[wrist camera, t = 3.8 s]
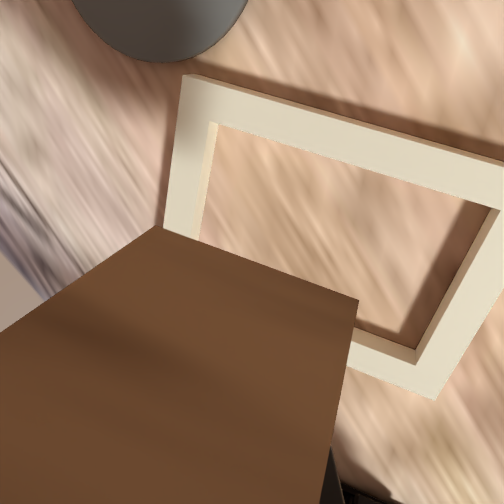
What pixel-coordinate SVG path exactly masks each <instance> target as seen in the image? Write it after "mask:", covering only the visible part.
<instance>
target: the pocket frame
mask: <svg viewBox="0 0 504 504" xmlns="http://www.w3.org/2000/svg"><path fill="white" fill-rule="evenodd" d="M219 124H221V125H224V126H227V127H230V128H234V129H237V130H240V131H243V132H247V133H250V134H253V135H256V136H260V137H263V138H266V139H270V140H273V141H276V142H279V143H283V144H286V145H289V146H292V147H296V148H299V149H302V150H305V151H309V152H312V153H315V154H318V155H322V156H325V157H328V158H332V159H335V160H338V161H341V162H345V163H348V164H351V165H354V166H358V167H361V168H364V169H367V170H371V171H374V172H377V173H380V174H384V175H387V176H390V177H394V178H397V179H400V180H403V181H407V182H410V183H413V184H416V185H420V186H423V187H426V188H429V189H433V190H436V191H439V192H442V193H446V194H449V195H452V196H456V197H459V198H462V199H465V200H469V201H472V202H475V203H478V204H482V205H485V206H488V207H491V210H490V212H489V213H488V215H487V217H486V219H485V221H484V223H483V225H482V226H481V228H480V230H479V232H478V234H477V236H476V238H475V240H474V241H473V243H472V245H471V247H470V249H469V251H468V253H467V255H466V256H465V258H464V260H463V262H462V264H461V266H460V268H459V270H458V271H457V273H456V275H455V277H454V279H453V281H452V283H451V284H450V286H449V288H448V290H447V292H446V294H445V296H444V298H443V299H442V301H441V303H440V305H439V307H438V309H437V311H436V313H435V314H434V316H433V318H432V320H431V322H430V324H429V326H428V327H427V329H426V331H425V333H424V335H423V337H422V339H421V341H420V342H419V344H418V346H417V348H416V350H413V349H411V348H408V347H405V346H403V345H400V344H397V343H395V342H392V341H390V340H387V339H384V338H382V337H379V336H376V335H374V334H371V333H368V332H366V331H363V330H361V329H358V328H355V327H354V329H353V334H352V339H351V344H350V349H349V354H348V359H347V364H346V366H348V367H351V368H353V369H356V370H358V371H361V372H363V373H366V374H368V375H371V376H373V377H376V378H378V379H381V380H383V381H386V382H388V383H391V384H393V385H396V386H398V387H401V388H403V389H406V390H408V391H411V392H413V393H416V394H418V395H421V396H423V397H426V398H428V399H431V400H433V401H435V400H436V398H437V396H438V395H439V393H440V391H441V390H442V388H443V386H444V385H445V383H446V382H447V380H448V378H449V377H450V375H451V373H452V372H453V370H454V368H455V367H456V365H457V364H458V362H459V360H460V359H461V357H462V355H463V354H464V352H465V350H466V349H467V347H468V346H469V344H470V342H471V341H472V339H473V337H474V336H475V334H476V332H477V331H478V329H479V328H480V326H481V324H482V323H483V321H484V319H485V318H486V316H487V314H488V313H489V311H490V310H491V308H492V306H493V305H494V303H495V301H496V300H497V298H498V296H499V295H500V293H501V292H502V290H503V288H504V162H503V161H499V160H496V159H492V158H489V157H485V156H482V155H478V154H475V153H471V152H468V151H464V150H461V149H457V148H454V147H450V146H447V145H443V144H440V143H436V142H433V141H429V140H426V139H422V138H419V137H415V136H412V135H408V134H405V133H401V132H398V131H394V130H391V129H387V128H384V127H380V126H377V125H373V124H370V123H366V122H363V121H359V120H356V119H352V118H349V117H345V116H342V115H338V114H335V113H331V112H328V111H324V110H321V109H317V108H314V107H310V106H307V105H303V104H300V103H296V102H293V101H289V100H285V99H282V98H278V97H275V96H271V95H268V94H264V93H261V92H257V91H254V90H250V89H247V88H243V87H240V86H236V85H233V84H229V83H226V82H222V81H219V80H215V79H212V78H208V77H205V76H201V75H198V74H187V75H183V76H182V83H181V91H180V99H179V107H178V115H177V122H176V130H175V138H174V146H173V154H172V161H171V169H170V177H169V185H168V193H167V200H166V208H165V216H164V224H163V228H164V229H167V230H170V231H172V232H175V233H178V234H181V235H183V236H186V237H189V238H191V239H194V240H197V241H198V240H199V234H200V229H201V223H202V217H203V212H204V206H205V200H206V195H207V189H208V183H209V178H210V172H211V166H212V161H213V155H214V149H215V144H216V138H217V133H218V127H219Z"/></svg>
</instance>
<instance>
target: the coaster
mask: <svg viewBox="0 0 504 504" xmlns="http://www.w3.org/2000/svg"><path fill="white" fill-rule="evenodd" d="M72 1H73V3H74V5H75V7H76V9H77V10H78V12H79V13H80V15H81V16H82V18H83V19H84V20H85V22H86V23H87V24H88V25H89V26H90V28H91V29H92V30H93V31H94V32H95V33H96V34H97V35H98V36H99V37H100V38H101V39H102V40H103V41H104V42H106V43H107V44H108V45H110V46H111V47H113V48H114V49H116V50H117V51H119V52H121V53H123V54H125V55H127V56H129V57H132V58H135V59H138V60H142V61H147V62H161V63H163V62H175V61H182V60H185V59H189V58H192V57H194V56H196V55H199V54H201V53H203V52H204V51H206V50H207V49H209V48H210V47H212V46H213V45H215V44H216V43H217V42H218V41H219V40H220V39H221V38H223V37H224V36H225V35H226V33H227V32H228V31H229V30H230V29H231V28H232V26H233V25H234V24H235V22H236V21H237V19H238V18H239V16H240V15H241V13H242V12H243V10H244V8H245V6H246V4H247V1H248V0H72Z"/></svg>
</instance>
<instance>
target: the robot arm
mask: <svg viewBox="0 0 504 504" xmlns="http://www.w3.org/2000/svg"><path fill="white" fill-rule="evenodd" d="M319 504H387V503H385V502H383V501H381V500H378V499H376V498H374V497H372V496H370V495H367V494H365V493H363V492H361V491H358V490H356V489H354V488H352V487H350V486H347V485H345V484H343V483H341V482H340V480H339V476H338V471H337V467H336V463H335V458H334V454H333V450H332V446H331V445H330V450H329V455H328V460H327V465H326V471H325V476H324V481H323V486H322V491H321V496H320V501H319Z"/></svg>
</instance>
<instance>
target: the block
mask: <svg viewBox="0 0 504 504" xmlns="http://www.w3.org/2000/svg"><path fill="white" fill-rule="evenodd" d="M358 304H359V300H357V299H354V298H352V297H349V296H346V295H343V294H341V293H338V292H335V291H333V290H330V289H327V288H324V287H322V286H319V285H316V284H314V283H311V282H308V281H305V280H303V279H300V278H297V277H295V276H292V275H289V274H286V273H284V272H281V271H278V270H276V269H273V268H270V267H267V266H265V265H262V264H259V263H257V262H254V261H251V260H248V259H246V258H243V257H240V256H238V255H235V254H232V253H229V252H227V251H224V250H221V249H219V248H216V247H213V246H210V245H208V244H205V243H202V242H200V241H197V240H194V239H191V238H189V237H186V236H183V235H181V234H178V233H175V232H172V231H170V230H167V229H164V228H162V227H159V226H156V225H155V226H154V227H152V228H151V229H149V230H148V231H147V232H145V233H144V234H142V235H141V236H139V237H138V238H136V239H135V240H134V241H132V242H131V243H129V244H128V245H126V246H125V247H123V248H122V249H121V250H119V251H118V252H116V253H115V254H113V255H112V256H110V257H109V258H107V259H106V260H105V261H103V262H102V263H100V264H99V265H97V266H96V267H94V268H93V269H92V270H90V271H89V272H87V273H86V274H84V275H83V276H81V277H80V278H79V279H77V280H76V281H74V282H73V283H71V284H70V285H68V286H67V287H66V288H64V289H63V290H61V291H60V292H58V293H57V294H55V295H54V296H53V297H51V298H50V299H48V300H47V301H45V302H44V303H42V304H41V305H40V306H38V307H37V308H35V309H34V310H32V311H31V312H29V313H28V314H27V315H25V316H24V317H22V318H21V319H19V320H18V321H16V322H15V323H14V324H12V325H11V326H9V327H8V328H6V329H5V330H3V331H2V332H1V333H0V504H319V501H320V496H321V491H322V486H323V481H324V476H325V471H326V465H327V460H328V455H329V450H330V445H331V440H332V435H333V430H334V425H335V420H336V415H337V410H338V405H339V400H340V395H341V390H342V385H343V380H344V374H345V369H346V364H347V359H348V354H349V349H350V344H351V339H352V334H353V329H354V324H355V319H356V314H357V309H358Z"/></svg>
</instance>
